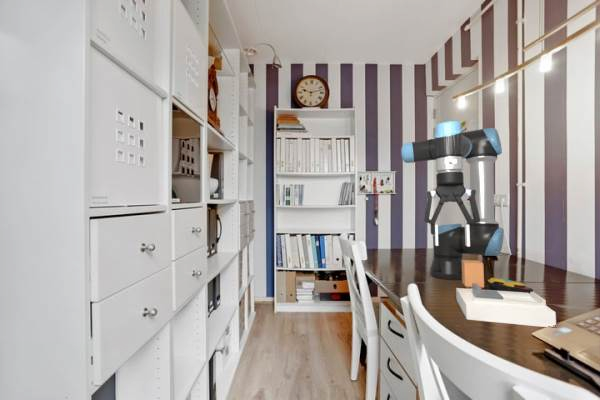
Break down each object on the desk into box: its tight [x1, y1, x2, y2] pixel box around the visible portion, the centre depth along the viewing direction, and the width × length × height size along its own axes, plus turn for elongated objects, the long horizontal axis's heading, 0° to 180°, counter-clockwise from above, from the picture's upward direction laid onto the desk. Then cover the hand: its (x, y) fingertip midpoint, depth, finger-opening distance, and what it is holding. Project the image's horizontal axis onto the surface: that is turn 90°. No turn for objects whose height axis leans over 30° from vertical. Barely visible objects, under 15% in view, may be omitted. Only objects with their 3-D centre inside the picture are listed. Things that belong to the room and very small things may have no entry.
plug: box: [461, 259, 485, 289], centre depth 102 cm, size 6×6×12 cm
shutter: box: [472, 283, 503, 299], centre depth 88 cm, size 6×6×3 cm
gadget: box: [485, 277, 534, 294], centre depth 102 cm, size 6×13×6 cm, turn 78°
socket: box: [455, 287, 557, 328], centre depth 87 cm, size 18×20×6 cm
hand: (451, 245), depth 91 cm, fingers open, 8 cm apart
